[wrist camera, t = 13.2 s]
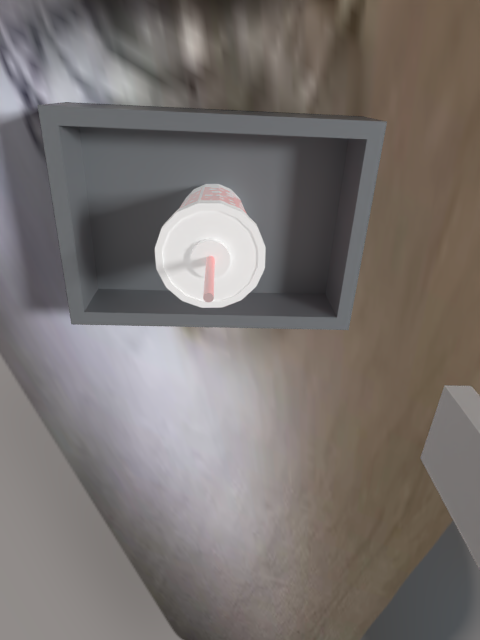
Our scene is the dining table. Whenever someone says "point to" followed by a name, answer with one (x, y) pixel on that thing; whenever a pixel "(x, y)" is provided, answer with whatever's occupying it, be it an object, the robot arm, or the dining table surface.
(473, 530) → the robot arm
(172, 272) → the beverage cup
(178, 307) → the box
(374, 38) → the dining table surface
